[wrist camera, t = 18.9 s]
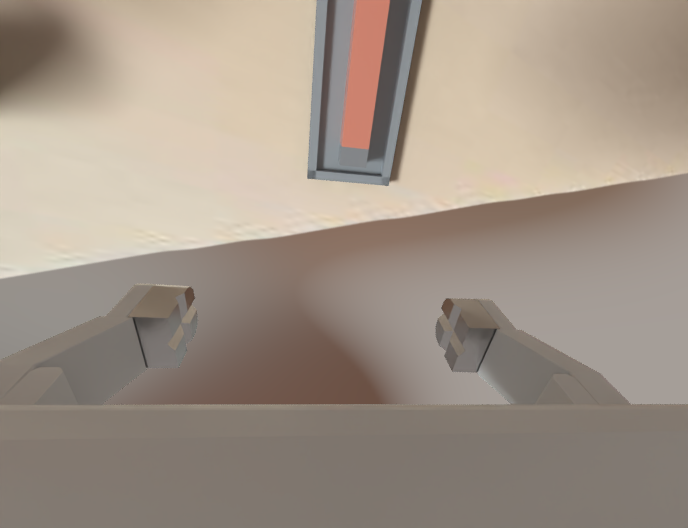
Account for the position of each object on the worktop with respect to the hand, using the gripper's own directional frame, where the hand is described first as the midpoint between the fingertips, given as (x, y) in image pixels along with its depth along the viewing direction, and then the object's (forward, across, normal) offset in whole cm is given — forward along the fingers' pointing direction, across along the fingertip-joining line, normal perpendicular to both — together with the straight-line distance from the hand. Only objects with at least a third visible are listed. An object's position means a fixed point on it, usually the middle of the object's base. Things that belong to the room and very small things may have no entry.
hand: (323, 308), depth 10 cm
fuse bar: (+30, -4, -8) cm, 32 cm away
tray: (+31, -4, -9) cm, 33 cm away
